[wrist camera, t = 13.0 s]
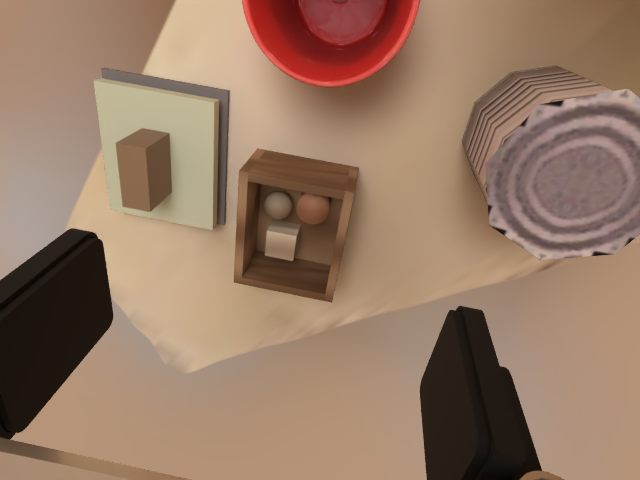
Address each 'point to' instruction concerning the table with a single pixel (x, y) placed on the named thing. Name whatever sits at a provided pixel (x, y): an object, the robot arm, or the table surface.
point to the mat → (198, 91)
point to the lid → (159, 152)
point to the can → (558, 162)
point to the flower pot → (330, 36)
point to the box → (292, 223)
